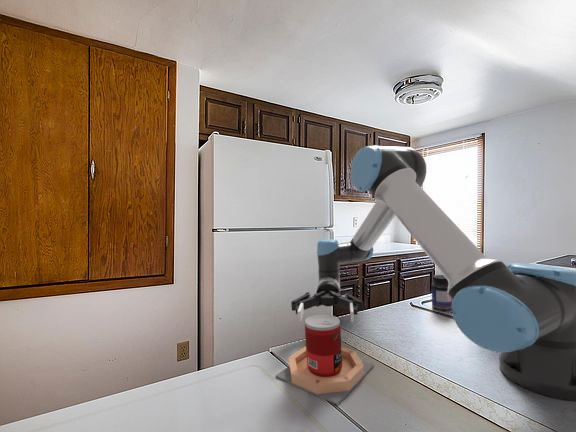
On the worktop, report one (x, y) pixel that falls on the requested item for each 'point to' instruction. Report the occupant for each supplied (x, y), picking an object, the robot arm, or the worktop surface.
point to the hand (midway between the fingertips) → (325, 316)
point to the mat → (331, 397)
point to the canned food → (323, 345)
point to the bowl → (320, 385)
